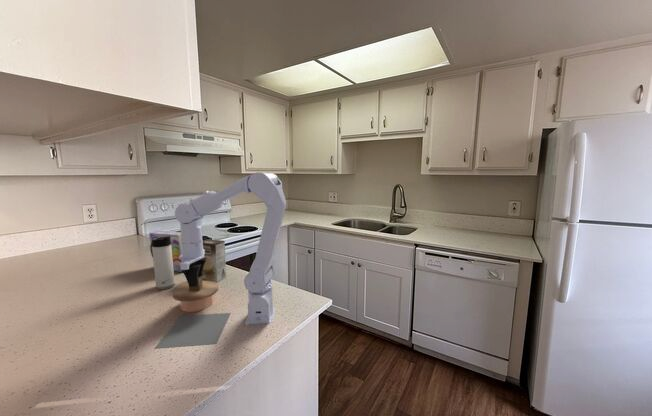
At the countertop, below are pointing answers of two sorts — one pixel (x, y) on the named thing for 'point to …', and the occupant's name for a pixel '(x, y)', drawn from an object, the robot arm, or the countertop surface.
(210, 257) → the coffee box
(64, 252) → the countertop surface
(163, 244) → the travel mug
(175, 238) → the cake pan box
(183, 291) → the lid
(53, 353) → the countertop surface
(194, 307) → the bowl
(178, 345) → the mat
